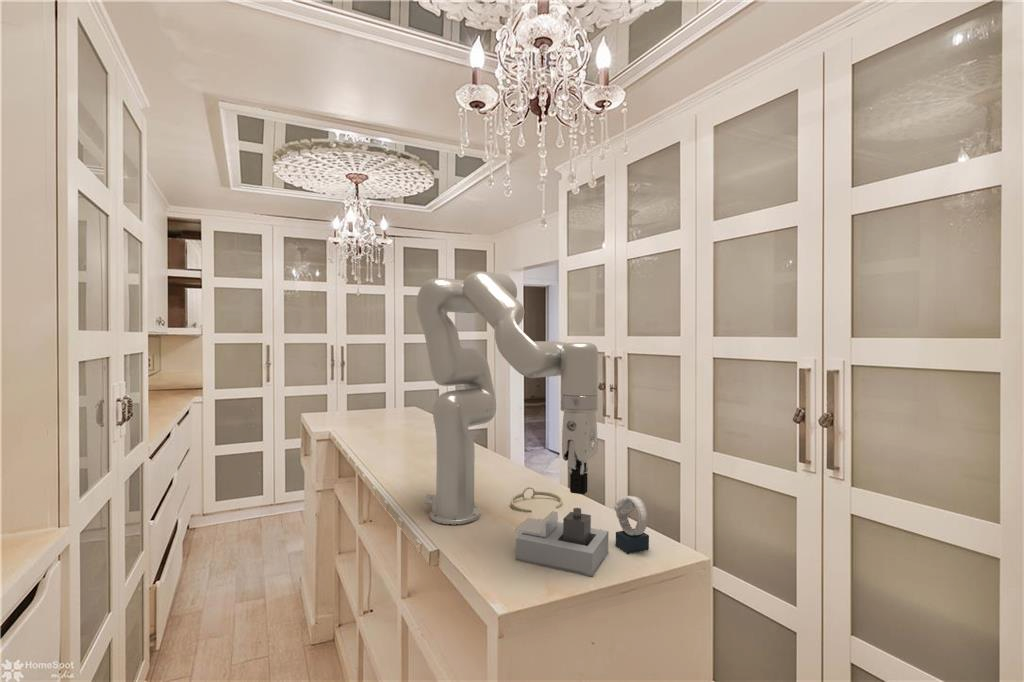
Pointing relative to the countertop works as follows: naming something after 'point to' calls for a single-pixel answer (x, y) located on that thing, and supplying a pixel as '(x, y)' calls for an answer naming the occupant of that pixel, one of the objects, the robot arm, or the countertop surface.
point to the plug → (577, 528)
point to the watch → (630, 537)
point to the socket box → (563, 551)
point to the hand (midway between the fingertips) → (578, 492)
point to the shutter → (539, 525)
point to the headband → (532, 497)
